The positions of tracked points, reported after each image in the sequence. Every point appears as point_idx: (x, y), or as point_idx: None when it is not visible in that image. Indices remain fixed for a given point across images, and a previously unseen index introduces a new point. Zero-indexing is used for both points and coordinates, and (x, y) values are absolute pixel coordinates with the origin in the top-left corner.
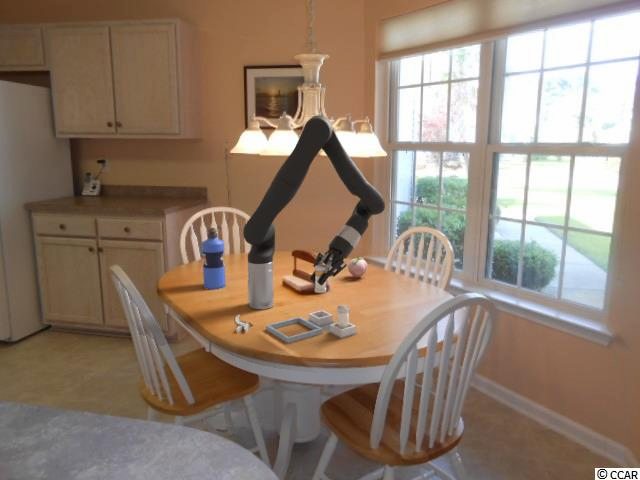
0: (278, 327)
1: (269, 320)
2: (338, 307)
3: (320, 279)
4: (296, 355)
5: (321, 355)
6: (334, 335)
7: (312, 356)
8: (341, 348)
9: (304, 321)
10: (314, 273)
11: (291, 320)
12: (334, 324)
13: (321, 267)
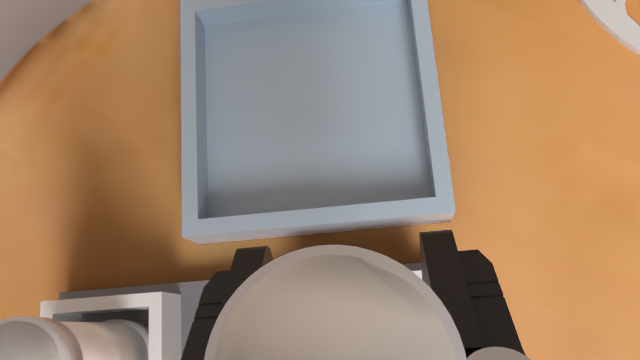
0: (415, 54)
1: (602, 79)
2: (35, 332)
3: (231, 281)
4: (86, 17)
5: (13, 115)
6: (123, 287)
7: (32, 74)
8: (9, 246)
9: (365, 204)
10: (437, 293)
11: (428, 137)
12: (150, 321)
13: (245, 342)
